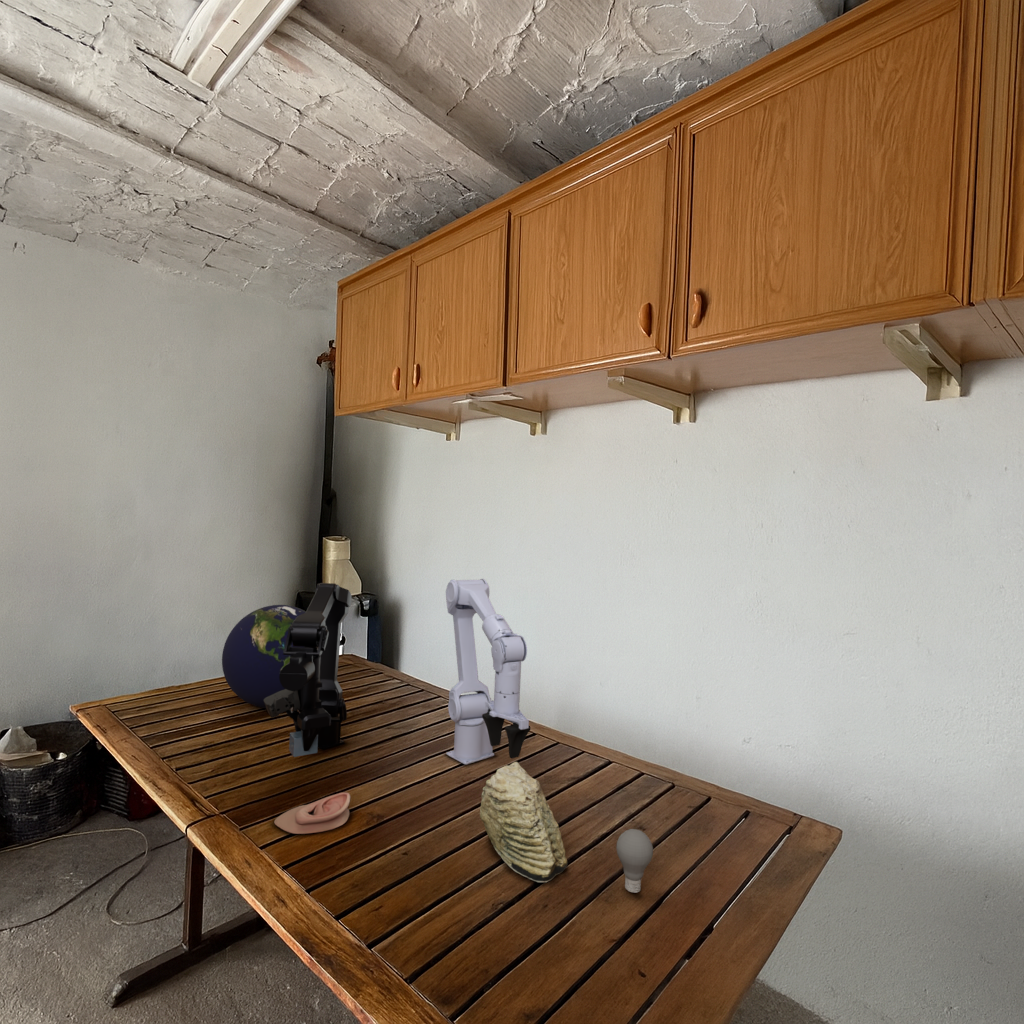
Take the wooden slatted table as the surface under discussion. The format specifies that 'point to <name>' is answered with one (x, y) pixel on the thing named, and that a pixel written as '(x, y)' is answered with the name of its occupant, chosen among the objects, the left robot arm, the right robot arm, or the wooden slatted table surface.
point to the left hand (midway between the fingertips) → (303, 747)
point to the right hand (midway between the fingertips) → (504, 751)
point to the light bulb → (634, 857)
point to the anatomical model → (316, 815)
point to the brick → (301, 745)
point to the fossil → (522, 824)
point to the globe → (258, 652)
